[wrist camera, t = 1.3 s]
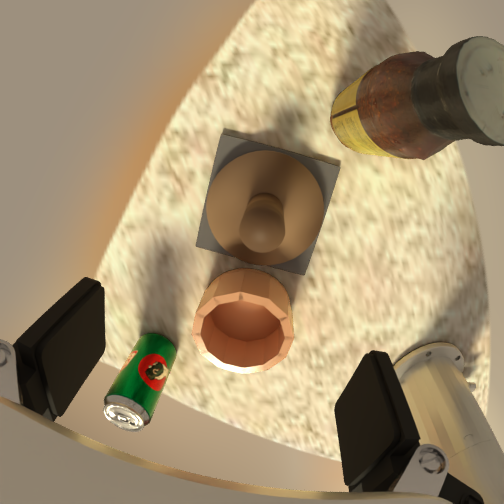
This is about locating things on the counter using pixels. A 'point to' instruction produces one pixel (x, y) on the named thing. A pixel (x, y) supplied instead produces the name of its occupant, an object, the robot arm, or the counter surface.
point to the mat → (237, 147)
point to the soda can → (140, 383)
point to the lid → (265, 208)
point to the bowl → (244, 321)
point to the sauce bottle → (425, 102)
